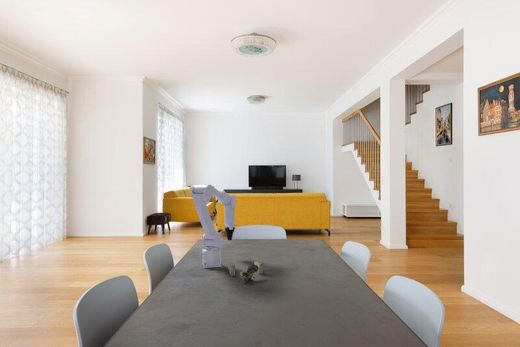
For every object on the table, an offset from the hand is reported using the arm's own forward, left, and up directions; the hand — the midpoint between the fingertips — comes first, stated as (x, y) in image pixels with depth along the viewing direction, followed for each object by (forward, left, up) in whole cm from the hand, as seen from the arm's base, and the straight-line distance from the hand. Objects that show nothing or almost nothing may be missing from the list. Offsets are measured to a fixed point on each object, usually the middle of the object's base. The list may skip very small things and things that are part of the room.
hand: (229, 240), depth 179 cm
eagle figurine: (+4, -39, -11) cm, 41 cm away
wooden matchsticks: (+4, -25, -10) cm, 27 cm away
